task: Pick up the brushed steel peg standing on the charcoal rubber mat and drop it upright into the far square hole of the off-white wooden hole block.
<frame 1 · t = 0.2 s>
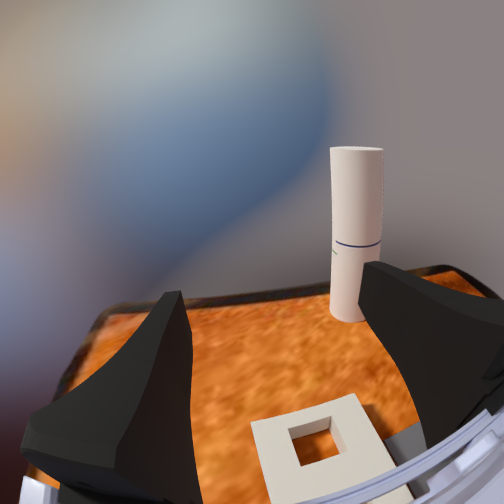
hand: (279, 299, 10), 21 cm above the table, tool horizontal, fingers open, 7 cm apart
hole block: (330, 489, 16), on the table
mat: (440, 452, 16), on the table
cylindrical container: (350, 309, 42), on the table
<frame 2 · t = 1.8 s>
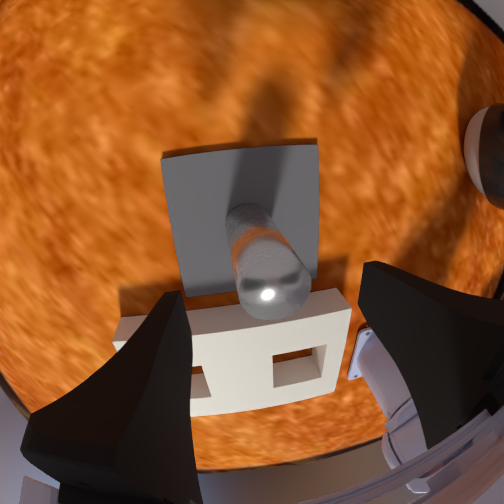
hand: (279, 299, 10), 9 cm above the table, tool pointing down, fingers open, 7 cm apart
hole block: (235, 353, 23), on the table
mat: (246, 222, 18), on the table
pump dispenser: (476, 147, 18), on the table
peg: (247, 224, 18), resting on mat
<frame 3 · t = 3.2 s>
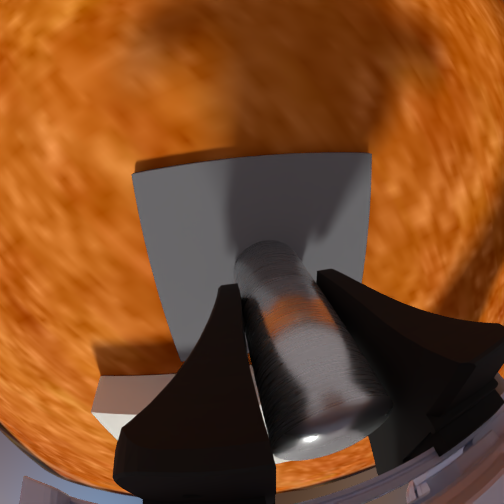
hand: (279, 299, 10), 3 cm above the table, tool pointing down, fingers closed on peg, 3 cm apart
hole block: (245, 411, 17), on the table
mat: (265, 267, 12), on the table
peg: (267, 271, 12), resting on mat, touching gripper
when the fingers open (4 cm above the table, at t = 7.5 s): peg drops 2 cm, resting in hole block.
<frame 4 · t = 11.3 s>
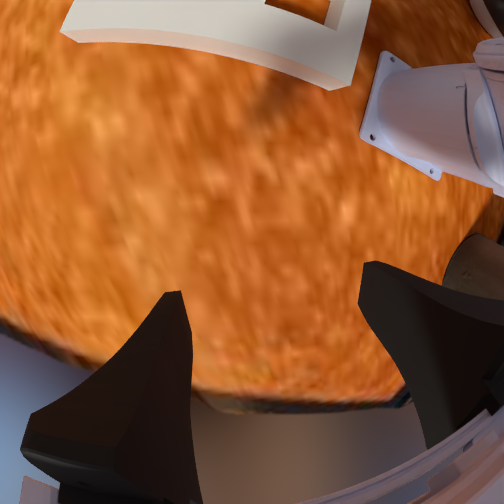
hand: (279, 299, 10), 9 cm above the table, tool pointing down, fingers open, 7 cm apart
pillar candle: (465, 268, 25), on the table
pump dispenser: (481, 14, 11), on the table
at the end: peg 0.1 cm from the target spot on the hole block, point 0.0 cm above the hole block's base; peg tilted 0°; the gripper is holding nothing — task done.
